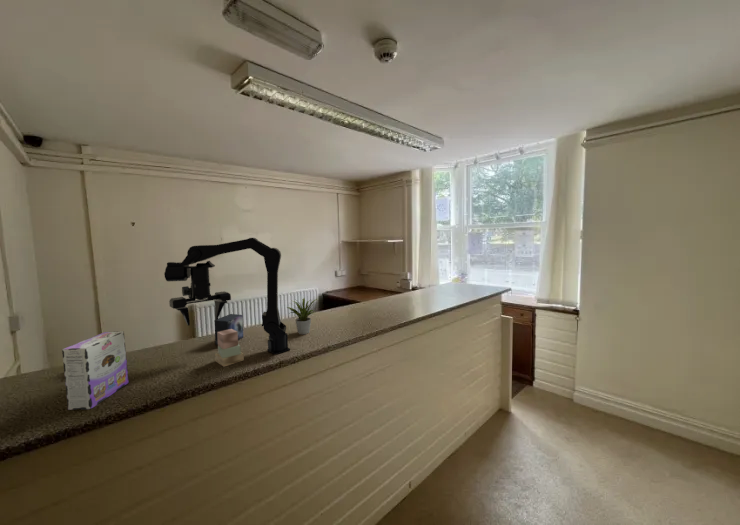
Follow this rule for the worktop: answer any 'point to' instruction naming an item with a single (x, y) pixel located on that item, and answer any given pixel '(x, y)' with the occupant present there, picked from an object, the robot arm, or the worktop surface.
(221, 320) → the small box
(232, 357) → the beech base block
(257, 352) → the worktop surface
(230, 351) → the sage top block
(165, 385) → the worktop surface
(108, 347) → the candy box
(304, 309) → the house plant
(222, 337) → the rose cube
